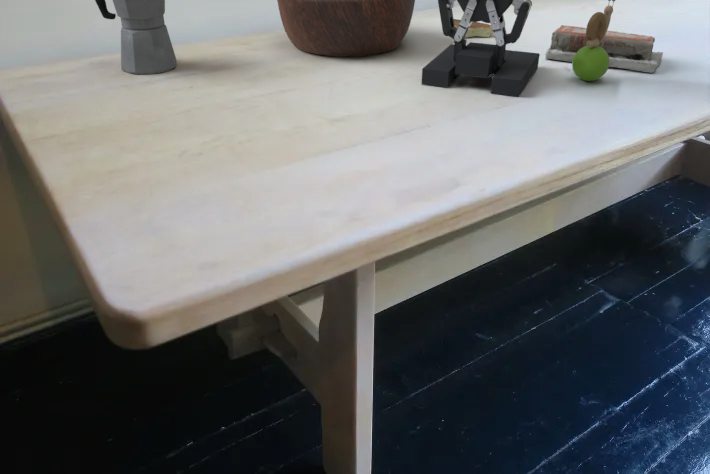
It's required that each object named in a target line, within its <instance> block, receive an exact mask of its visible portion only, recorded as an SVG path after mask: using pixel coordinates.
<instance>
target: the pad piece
mask: <svg viewBox="0 0 710 474" xmlns="http://www.w3.org/2000/svg"><path fill="white" fill-rule="evenodd" d="M495 45H496V44H493V43H483V42H473V41H470V42H469V43H468V44H466V47H465V48H464V49H462V50H461V51H460V52H459V53H458V54H457V56H456V68H455V74H457V75H460V76H465V77H466V76H467V77H475V78H482V79H483V78H484V79H489V78H490V76H491V75H492V74H491V73H492V72H493V71H494V70H493V60H494V46H495Z"/></svg>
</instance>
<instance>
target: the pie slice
mask: <svg viewBox="0 0 710 474" xmlns="http://www.w3.org/2000/svg"><path fill="white" fill-rule="evenodd" d="M453 19H454V25H455V28H457V29H458V27H459V23H460V21H461V19H456V18H453ZM492 33H494V32H493V30H492V27H491V24H490V23H485V22H480V21H478V22H472V24H471V25H470V27H469V29H468V32H467V34H466V36H465V39H467V38H471V37H481V38H489V37H490V35H491V34H492Z"/></svg>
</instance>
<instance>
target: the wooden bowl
mask: <svg viewBox="0 0 710 474" xmlns="http://www.w3.org/2000/svg"><path fill="white" fill-rule="evenodd" d="M276 1H277V7H278V11H279V17H280V19H281V24H282V26H283V29H284V32H285V33H286V36H287V37H288V39H289V40H290V43H292V45H293V46H295V48H297V49H298V50H301V51H304V52H306V53H310V54H315V55H321V56H330V57H364V56H372V55H378V54H383V53H386V52H387V53H388V52H389V51H392V50H394V49H396V48H397V47H398V46H400V44H401V43H402V42H403V40H404V39H405V37H406V35H407V33H408V31H409V28H410V25H411V22H412V18H413V14H414V9H415V4H416V3H415V2H416V0H276Z"/></svg>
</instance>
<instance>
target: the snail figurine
mask: <svg viewBox="0 0 710 474" xmlns="http://www.w3.org/2000/svg"><path fill="white" fill-rule="evenodd" d="M607 1H608V5H606V6H605V7H604V9H603V12H601V11H597V12H595V13H593V14H592V16H590V18H589V20H588V22H587V24H586V27H585V28H586V37H587V39H588V41H587V42H586V44H587V46H585V47H583V48H581V49H580V50H579V51H578V52H577V53H576V54H575V56H574V58H573V62H571V66H572V71H573V73H574V74H575V76H576V77H577V78H578V79H580V80H583V81H585V82H593V81H597V80H599V79H600V78H602V77H603V76H604V75H605V74H606V73H607V71H608V69H609V68H610V67H609V56H608V54H607V52H606V51H605V50H604V49H603V48H602V47H600V46H598V45H599V44H600V43H601V42H602V40H603V39H604V37H605V35H606V32H607V31H609V30H608V29H609V26H610V23H611V18H612V14H613V12H614V3H615V2H616V0H607ZM611 1H612V5H610V2H611Z"/></svg>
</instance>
